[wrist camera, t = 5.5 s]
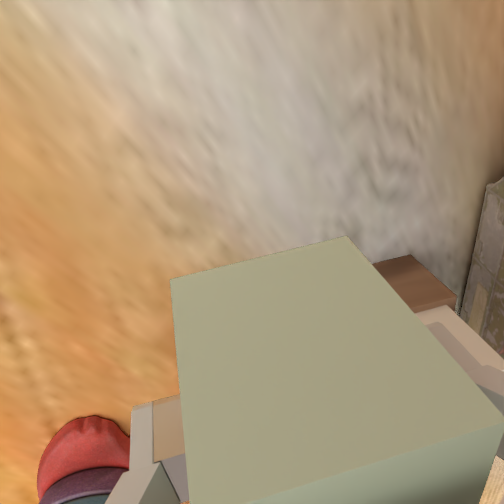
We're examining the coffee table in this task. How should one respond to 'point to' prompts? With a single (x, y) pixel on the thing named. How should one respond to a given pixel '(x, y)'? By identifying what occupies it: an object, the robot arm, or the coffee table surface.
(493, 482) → the coffee table surface
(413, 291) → the walnut plinth
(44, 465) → the stacking bear
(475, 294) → the decorative box
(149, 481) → the robot arm
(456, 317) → the cream cube
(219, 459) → the sage-green block
